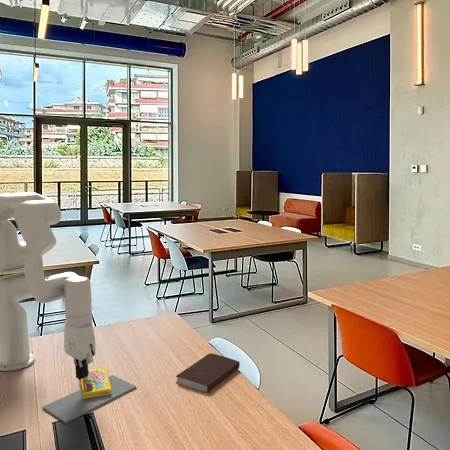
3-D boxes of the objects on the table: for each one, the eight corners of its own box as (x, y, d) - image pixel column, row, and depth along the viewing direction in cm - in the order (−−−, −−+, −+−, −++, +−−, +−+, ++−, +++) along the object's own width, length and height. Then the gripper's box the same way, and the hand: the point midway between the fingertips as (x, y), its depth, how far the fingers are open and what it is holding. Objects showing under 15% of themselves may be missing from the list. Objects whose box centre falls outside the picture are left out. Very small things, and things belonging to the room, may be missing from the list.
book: (240, 369, 147) (240, 360, 146) (207, 394, 131) (207, 384, 130) (209, 361, 153) (209, 352, 153) (175, 384, 137) (174, 374, 137)
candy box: (79, 369, 141) (105, 365, 144) (79, 375, 141) (105, 372, 144) (82, 393, 126) (112, 388, 129) (82, 400, 126) (112, 395, 129)
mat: (42, 408, 123) (42, 406, 123) (112, 376, 142) (112, 375, 142) (65, 423, 116) (65, 421, 116) (136, 388, 134) (136, 386, 134)
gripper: (53, 316, 130) (57, 374, 133) (82, 328, 121) (85, 390, 123) (76, 310, 136) (79, 365, 138) (104, 320, 126) (107, 380, 129)
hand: (82, 377), depth 131 cm, fingers closed
